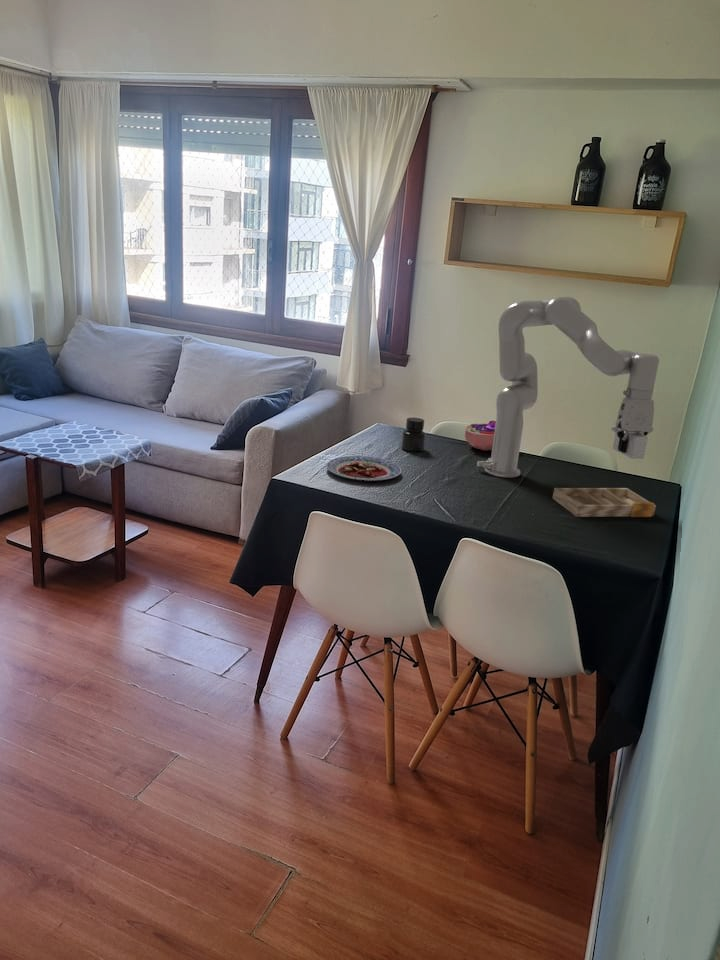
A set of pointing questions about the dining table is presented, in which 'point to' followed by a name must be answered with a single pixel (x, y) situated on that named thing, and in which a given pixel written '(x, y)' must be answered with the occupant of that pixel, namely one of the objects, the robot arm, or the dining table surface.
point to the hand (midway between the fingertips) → (628, 450)
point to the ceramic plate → (363, 468)
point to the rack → (603, 502)
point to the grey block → (633, 445)
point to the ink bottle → (414, 435)
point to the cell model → (481, 435)
